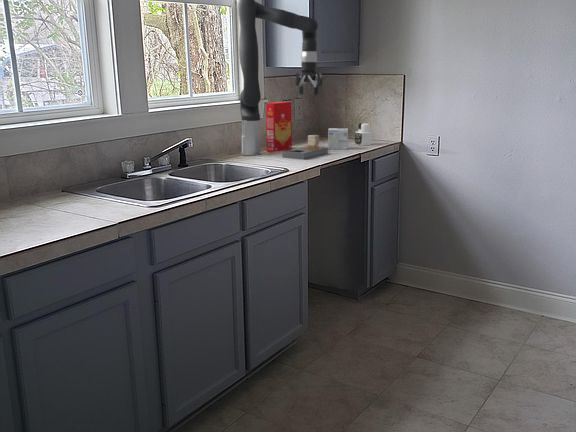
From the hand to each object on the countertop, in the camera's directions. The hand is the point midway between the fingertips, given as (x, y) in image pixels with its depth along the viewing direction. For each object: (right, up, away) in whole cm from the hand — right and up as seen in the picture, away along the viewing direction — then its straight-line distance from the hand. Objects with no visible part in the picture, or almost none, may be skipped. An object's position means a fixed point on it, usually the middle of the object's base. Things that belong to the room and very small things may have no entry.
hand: (308, 94), depth 292 cm
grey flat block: (-1, -32, -4) cm, 32 cm away
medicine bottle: (+32, -20, +38) cm, 54 cm away
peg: (+2, -29, +1) cm, 29 cm away
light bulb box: (+17, -24, +24) cm, 38 cm away
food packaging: (-15, -26, +18) cm, 35 cm away
